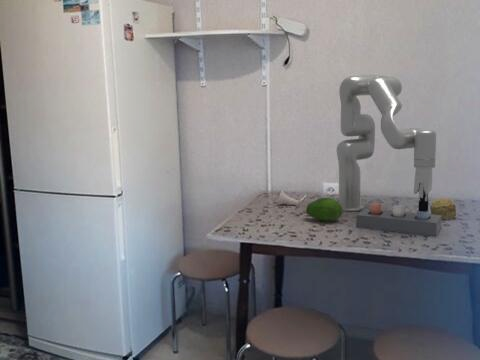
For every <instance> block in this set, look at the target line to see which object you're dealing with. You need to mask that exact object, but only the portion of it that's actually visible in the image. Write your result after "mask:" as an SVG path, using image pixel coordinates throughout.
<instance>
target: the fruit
mask: <svg viewBox="0 0 480 360" xmlns="http://www.w3.org/2000/svg"><path fill="white" fill-rule="evenodd" d="M332 198H333V197H321V198H318V199H315V200H314V201H311V202H310V203H308V204H307V205H306V209H305V213H306V214H307V215H308V216H309V217H311V218H314V219H317V220H318V221H322V222H335V221H337V220H338V219H340V218H341V216H342V214H343V212H344V211H343V210H342V207H341V205H340V204H339V203H338V202H337V201H336V200H334V199H332Z"/></svg>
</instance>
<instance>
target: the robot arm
mask: <svg viewBox="0 0 480 360" xmlns="http://www.w3.org/2000/svg"><path fill="white" fill-rule="evenodd" d="M402 86H403V85H402V83H401V81H400V79H398V78H397V77H395V76H388V75H386V76H385V75H378V74H373V75H371V74H368V75H367V74H364V75H363V74H362V75H361V74H360V75H352V76H348V77H345V78H344V79H343V80H342V81H341V82H340V85H339V93H338V95H339V99H340V100H339V101H340V133H341V134H342V135H343V136H344V137H358V138H352V139H351V138H349V139H345V140H342V141H340V142H339V143H338V144H337V146H336V156H337V162H338V198H333V197H331V198H332V199H334V200H336V201H337V202H338V203H339V204H340V205H341V207H342V210H343V211H342V212H351V213H352V212H361V211H362V210H363V209H365V206H364V205H363V204H361V167H360V165H359V164H358V162H357V161H359V160H367V159H370V158H371V157H373V155H374V152H375V144H376V137H375V136H376V123H375V120H374V118H373V116H371V115H370V114H368V113H367V114H366V113H362V114H361V107H362V105H361V102H360V100H359V98H358V96H370V97H371V99H372V100H373V103H374V104H375V105H376V107H377V109H378V111H379V112H380V115H381V117H380V130H381V134H382V136H383V137H384V138H385V140H386V142H387V144H389V146H390V147H391V148H393V149H395V150H405V149H413V168H415V172H414V174H415V175H414V182H413V183H414V185H413V193H414V194H415V195H416V194H418V210H419V211H423V212H427V211H429V193H430V192H431V191H432V189H433V187H432V186H433V168H434V169H435V168H436V156H437V155H436V150H437V149H436V148H437V147H436V146H437V132H436V130H433V129H421V128H416V127H414V128H399V127H398V125H397V124H396V122H395V120H394V117H395V116H396V115H397V114H398V113H399V112H400V111H401V110H402V107H403V104H402V103H401V101H400V99H399V98H398V96H399V95H400V94H401V93H402V90H403V89H402V88H403V87H402Z"/></svg>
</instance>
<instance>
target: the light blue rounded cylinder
mask: <svg viewBox="0 0 480 360" xmlns="http://www.w3.org/2000/svg"><path fill="white" fill-rule="evenodd" d="M416 213H417V218H416V219H425V220H429V214H430V210H428V211H427V212H423V211H419V209H417V210H416Z"/></svg>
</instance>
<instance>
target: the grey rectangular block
mask: <svg viewBox="0 0 480 360" xmlns="http://www.w3.org/2000/svg"><path fill="white" fill-rule="evenodd" d="M416 218H417V212H411V211H405V213H404V217H394V216H393V210H388V209H387V210H386V209H381V215H374V214H370V208H365V207H364V209H363V210H360V211H358V213H356V214H355V227H356V228H360V229H369V230H376V231H378V230H379V231H386V232H394V233H396V232H397V233H403V234H404V233H406V234H413V235H421V236H431V237H437V236H438V235H439V233H440V231H441V230H442V226H443V225H442V224H443V220H442V215H433V214H431V213H429V220H425V219H416Z"/></svg>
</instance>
